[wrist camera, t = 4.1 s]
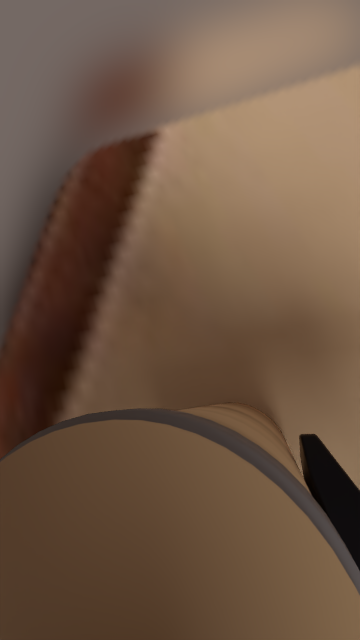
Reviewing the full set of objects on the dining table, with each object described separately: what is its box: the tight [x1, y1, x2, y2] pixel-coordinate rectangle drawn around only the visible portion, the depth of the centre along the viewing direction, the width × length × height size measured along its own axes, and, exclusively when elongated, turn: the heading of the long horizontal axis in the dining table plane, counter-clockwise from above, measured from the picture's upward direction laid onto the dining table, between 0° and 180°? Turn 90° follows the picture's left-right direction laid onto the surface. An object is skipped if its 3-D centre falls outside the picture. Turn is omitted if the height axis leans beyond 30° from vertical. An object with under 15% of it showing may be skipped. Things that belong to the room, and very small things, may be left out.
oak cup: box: [0, 403, 360, 640], centre depth 9 cm, size 5×5×13 cm
